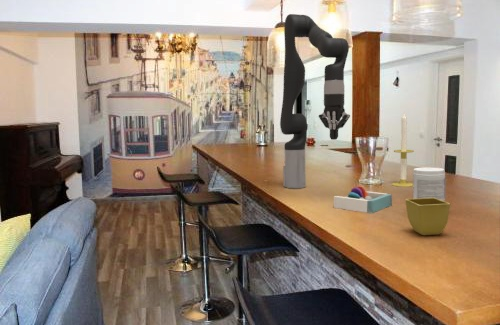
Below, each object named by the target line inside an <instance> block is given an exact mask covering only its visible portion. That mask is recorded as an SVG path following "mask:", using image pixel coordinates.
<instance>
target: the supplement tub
mask: <svg viewBox="0 0 500 325" xmlns="http://www.w3.org/2000/svg"><path fill="white" fill-rule="evenodd" d="M412 183H413V186H412V193H413V194H412V195H413V196H412V199H420V198H436V199H439V200H441V201H444V202H446V173H445V169H444V168H441V167H426V166H425V167H417V168H415V167H414V169H413V174H412Z"/></svg>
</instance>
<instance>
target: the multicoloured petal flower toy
mask: <svg viewBox="0 0 500 325" xmlns="http://www.w3.org/2000/svg"><path fill="white" fill-rule="evenodd" d="M345 197H348V198H356V199H364V200H372V198H371V197H370V196H368V193H367V192H366V189H365V188H364V187H363V186H355V187H352V189H351V190H350V191H349V193H348V194H347V195H346V196H345Z"/></svg>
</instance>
